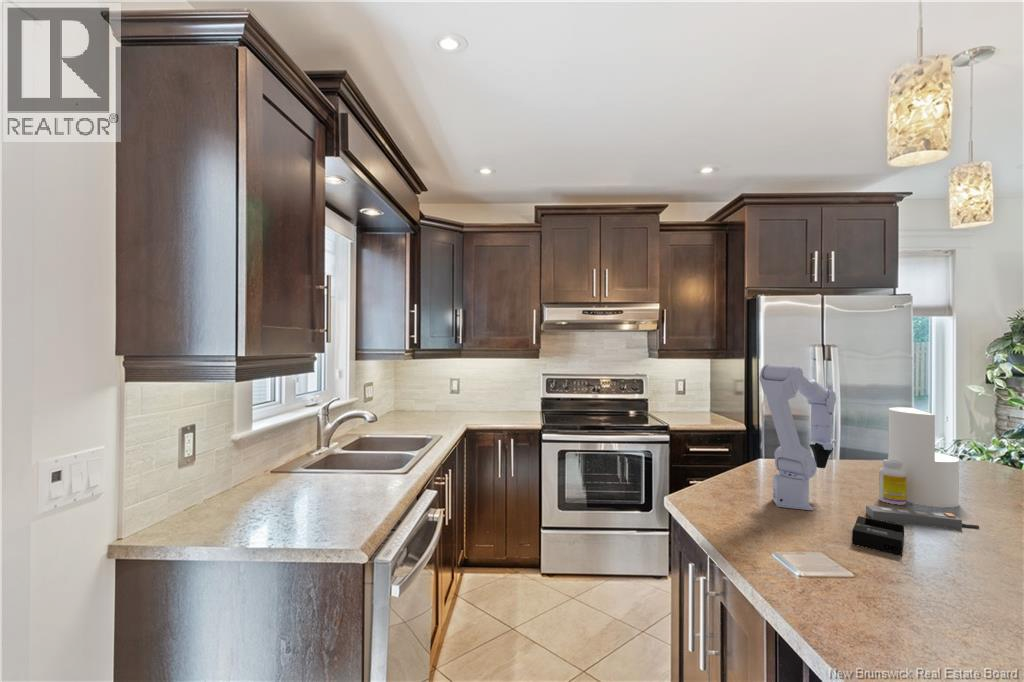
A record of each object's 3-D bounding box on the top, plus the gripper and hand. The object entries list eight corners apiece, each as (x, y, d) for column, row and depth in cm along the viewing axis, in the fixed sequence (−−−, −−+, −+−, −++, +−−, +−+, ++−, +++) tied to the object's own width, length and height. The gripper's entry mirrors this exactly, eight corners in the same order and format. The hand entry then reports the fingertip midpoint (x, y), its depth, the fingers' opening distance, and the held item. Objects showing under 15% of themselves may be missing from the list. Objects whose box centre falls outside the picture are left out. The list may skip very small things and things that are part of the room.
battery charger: (902, 558, 110) (902, 540, 110) (851, 546, 116) (851, 529, 116) (904, 540, 120) (904, 525, 120) (857, 530, 126) (857, 515, 126)
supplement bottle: (911, 506, 144) (911, 464, 144) (886, 504, 145) (886, 463, 145) (897, 499, 151) (898, 459, 151) (874, 497, 152) (874, 457, 152)
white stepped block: (899, 502, 147) (900, 413, 147) (880, 487, 163) (880, 406, 163) (970, 510, 141) (971, 417, 141) (943, 493, 157) (944, 409, 157)
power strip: (873, 519, 133) (873, 509, 133) (865, 513, 138) (866, 503, 138) (985, 531, 125) (985, 520, 125) (973, 525, 130) (973, 514, 130)
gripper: (843, 430, 144) (843, 474, 144) (828, 422, 158) (828, 463, 158) (817, 428, 146) (816, 472, 146) (804, 421, 160) (803, 461, 160)
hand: (820, 467), depth 152 cm, fingers closed
